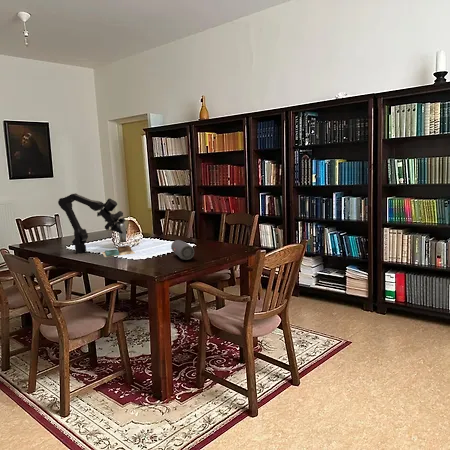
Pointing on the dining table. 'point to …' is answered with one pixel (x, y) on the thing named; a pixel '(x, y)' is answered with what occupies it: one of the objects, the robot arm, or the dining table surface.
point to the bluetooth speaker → (182, 250)
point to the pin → (122, 236)
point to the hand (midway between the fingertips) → (124, 232)
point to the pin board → (118, 251)
